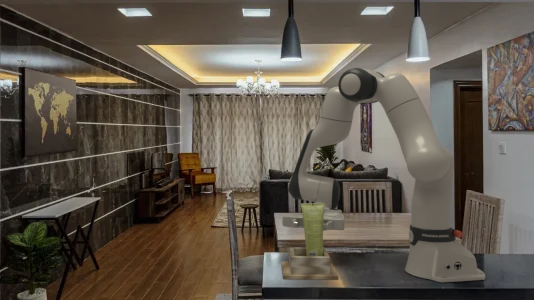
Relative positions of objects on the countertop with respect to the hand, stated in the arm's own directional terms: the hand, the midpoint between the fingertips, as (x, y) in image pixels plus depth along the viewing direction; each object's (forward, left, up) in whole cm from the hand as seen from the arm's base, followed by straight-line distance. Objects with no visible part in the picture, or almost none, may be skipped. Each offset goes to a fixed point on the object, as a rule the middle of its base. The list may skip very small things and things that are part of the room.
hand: (310, 226), depth 133 cm
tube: (-2, +3, -12) cm, 13 cm away
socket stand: (+1, +2, -14) cm, 14 cm away
